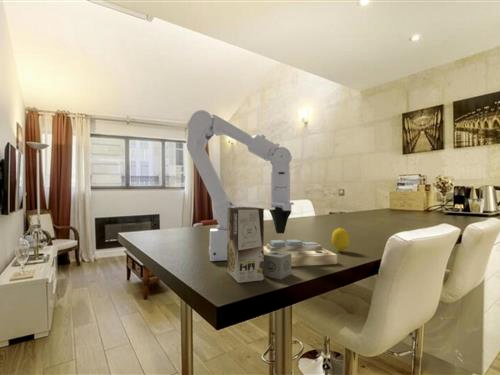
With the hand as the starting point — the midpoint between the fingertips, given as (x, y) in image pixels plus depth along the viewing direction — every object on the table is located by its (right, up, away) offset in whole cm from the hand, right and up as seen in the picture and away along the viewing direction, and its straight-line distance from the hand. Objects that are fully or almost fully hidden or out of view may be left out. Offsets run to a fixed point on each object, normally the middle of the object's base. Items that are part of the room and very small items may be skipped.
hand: (280, 233), depth 81 cm
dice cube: (-3, -7, -16) cm, 18 cm away
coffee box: (-10, -7, -17) cm, 21 cm away
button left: (-1, -4, 0) cm, 4 cm away
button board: (+5, -7, -1) cm, 9 cm away
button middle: (+4, -4, +1) cm, 6 cm away
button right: (+9, -5, +2) cm, 10 cm away
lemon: (+21, -8, +8) cm, 23 cm away
